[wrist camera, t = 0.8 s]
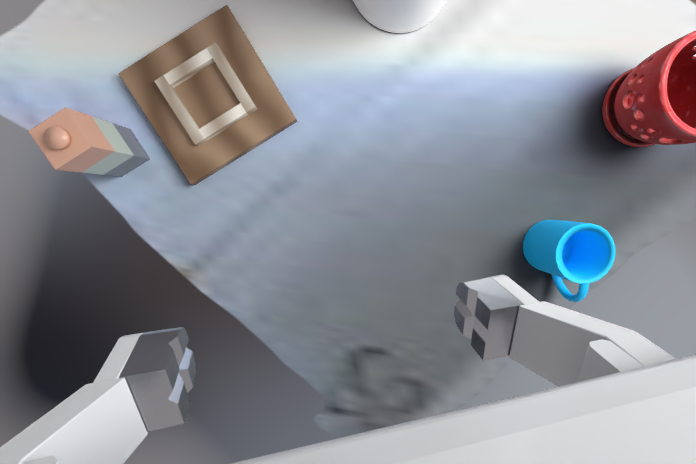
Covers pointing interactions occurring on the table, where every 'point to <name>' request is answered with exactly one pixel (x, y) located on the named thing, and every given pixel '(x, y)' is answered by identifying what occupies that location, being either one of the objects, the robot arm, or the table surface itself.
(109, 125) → the brick tower
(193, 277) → the table surface
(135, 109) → the table surface
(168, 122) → the socket board
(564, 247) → the mug
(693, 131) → the plant pot
